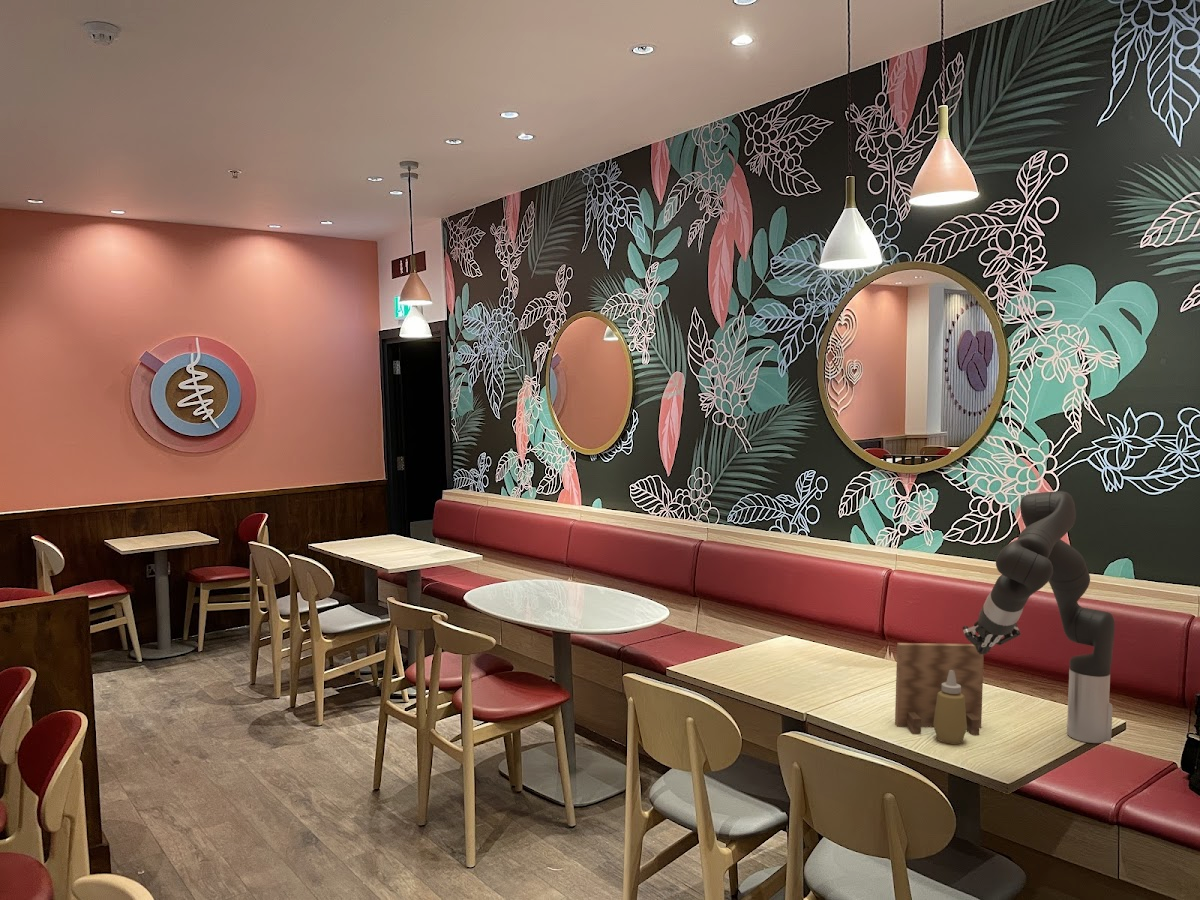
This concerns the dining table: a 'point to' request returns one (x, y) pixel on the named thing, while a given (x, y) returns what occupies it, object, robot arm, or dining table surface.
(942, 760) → the dining table surface
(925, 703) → the walnut wall board
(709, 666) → the dining table surface
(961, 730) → the squeeze bottle
